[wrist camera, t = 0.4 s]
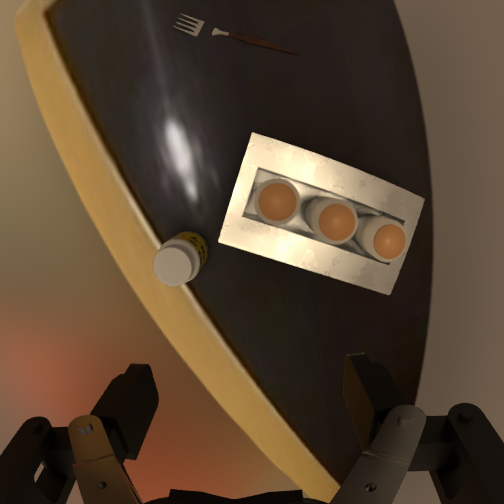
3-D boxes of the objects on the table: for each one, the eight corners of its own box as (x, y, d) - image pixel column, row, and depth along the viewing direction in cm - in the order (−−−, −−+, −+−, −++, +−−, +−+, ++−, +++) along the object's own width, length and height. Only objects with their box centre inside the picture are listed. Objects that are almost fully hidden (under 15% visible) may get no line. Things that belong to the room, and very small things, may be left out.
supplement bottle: (214, 261, 38) (203, 282, 30) (180, 273, 38) (161, 297, 30) (199, 224, 37) (183, 236, 29) (165, 238, 37) (141, 253, 29)
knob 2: (311, 191, 32) (323, 193, 26) (346, 203, 32) (365, 208, 26) (299, 227, 32) (308, 237, 27) (334, 238, 33) (350, 251, 27)
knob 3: (359, 208, 32) (379, 214, 26) (390, 220, 32) (414, 228, 26) (346, 243, 33) (364, 256, 27) (378, 254, 33) (400, 268, 27)
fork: (295, 64, 33) (297, 58, 31) (176, 33, 32) (172, 27, 30) (301, 48, 32) (303, 42, 30) (183, 18, 31) (180, 12, 29)
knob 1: (261, 174, 31) (261, 172, 25) (298, 186, 32) (307, 187, 26) (249, 211, 32) (247, 217, 26) (286, 222, 32) (292, 231, 26)
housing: (254, 138, 35) (253, 127, 28) (398, 191, 36) (425, 194, 29) (223, 234, 37) (216, 246, 30) (367, 280, 38) (387, 299, 31)
